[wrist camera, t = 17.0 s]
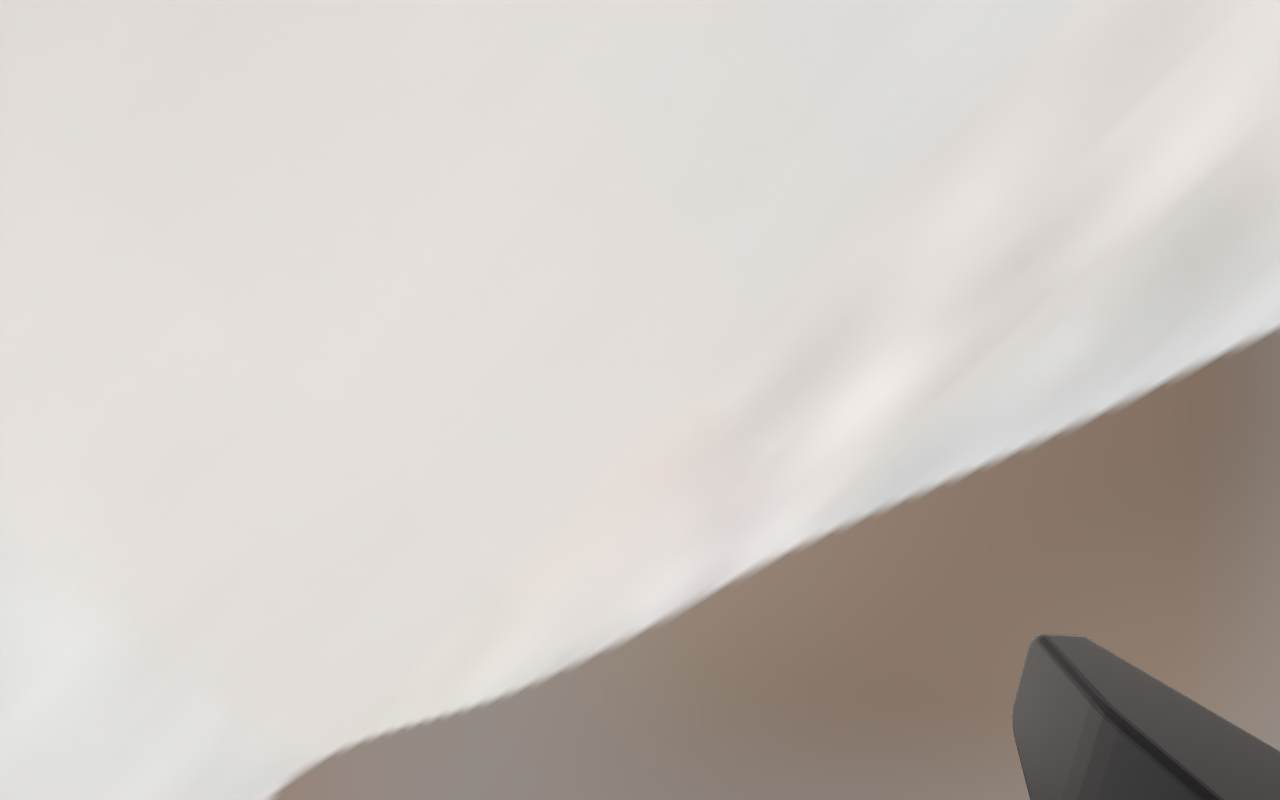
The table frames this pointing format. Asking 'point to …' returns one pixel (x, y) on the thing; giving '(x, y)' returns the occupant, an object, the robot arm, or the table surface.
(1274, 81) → the table surface
